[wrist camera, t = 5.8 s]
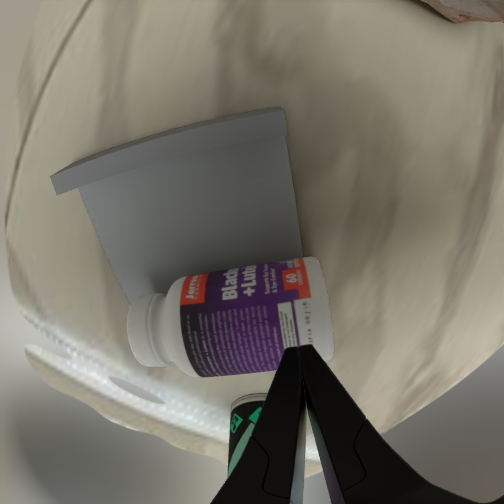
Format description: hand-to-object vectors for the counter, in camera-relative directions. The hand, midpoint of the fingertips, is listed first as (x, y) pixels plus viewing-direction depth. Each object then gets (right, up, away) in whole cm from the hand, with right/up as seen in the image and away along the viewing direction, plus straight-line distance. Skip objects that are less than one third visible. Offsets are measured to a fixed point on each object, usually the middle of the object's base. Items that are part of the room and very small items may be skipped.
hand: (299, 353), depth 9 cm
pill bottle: (+2, 0, +6) cm, 6 cm away
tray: (-4, +3, +7) cm, 9 cm away
